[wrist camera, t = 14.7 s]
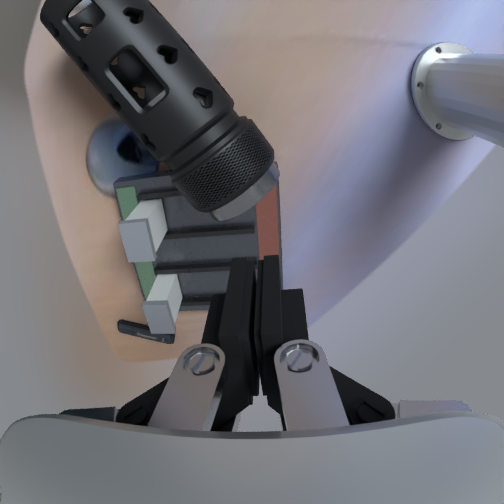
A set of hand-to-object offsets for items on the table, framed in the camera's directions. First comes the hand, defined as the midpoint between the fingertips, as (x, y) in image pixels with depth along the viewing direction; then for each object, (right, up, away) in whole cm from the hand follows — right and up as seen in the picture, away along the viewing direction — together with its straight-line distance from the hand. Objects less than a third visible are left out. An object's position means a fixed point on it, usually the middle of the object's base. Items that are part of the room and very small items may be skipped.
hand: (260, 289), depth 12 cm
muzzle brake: (-9, +20, +19) cm, 29 cm away
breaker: (-12, +6, +25) cm, 28 cm away
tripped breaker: (-11, -3, +30) cm, 32 cm away
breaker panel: (-6, +3, +29) cm, 30 cm away
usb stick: (-17, -11, +38) cm, 43 cm away
